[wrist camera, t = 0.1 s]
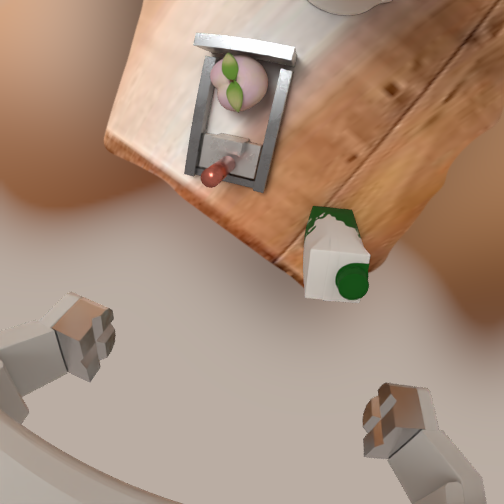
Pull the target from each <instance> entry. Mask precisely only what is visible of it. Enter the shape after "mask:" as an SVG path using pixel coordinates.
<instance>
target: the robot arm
mask: <svg viewBox="0 0 504 504" xmlns="http://www.w3.org/2000/svg"><path fill="white" fill-rule="evenodd" d="M308 1H309V2H310V3H312V4H313V5H314V6H316V7H318V8H319V9H321V10H324V11H326V12H329V13H333V14H337V15H356V14H361V13H364V12H366V11H368V10H370V9H371V8H373V7H374V6H375V5H377V4H379V3H386V2H390V1H392V0H308ZM113 319H114V317H113V311H112V310H111V309H110V308H107V307H105V306H103V305H101V304H98V303H96V302H94V301H91V300H89V299H87V298H84V297H82V296H79V295H77V294H75V293H73V292H70V293H67V294H66V295H64V297H62V298H61V299H60V300H59V302H57V303H56V304H55V305H54V307H52V308H51V309H50V310H49V311H48V312H47V313H46V314H45V315H44V316H43V318H41V319H40V320H39V321H36V320H33V321H30V322H27V323H24V324H21V325H17V326H14V327H11V328H8V329H5V330H2V331H0V504H182V503H179V502H176V501H173V500H170V499H167V498H164V497H161V496H158V495H156V494H153V493H150V492H148V491H145V490H142V489H140V488H137V487H135V486H132V485H130V484H128V483H125V482H123V481H120V480H118V479H116V478H114V477H112V476H110V475H108V474H105V473H103V472H101V471H99V470H97V469H95V468H93V467H91V466H89V465H87V464H85V463H83V462H82V461H80V460H78V459H76V458H74V457H72V456H71V455H69V454H67V453H65V452H63V451H62V450H60V449H58V448H57V447H55V446H53V445H52V444H50V443H48V442H47V441H45V440H44V439H42V438H41V437H39V436H37V435H36V434H34V433H33V432H31V431H30V430H28V429H27V428H26V427H24V426H23V425H21V424H22V423H23V421H24V419H25V418H26V417H27V415H28V413H29V409H28V407H27V405H26V404H25V402H24V400H23V399H22V397H23V396H25V395H27V394H29V393H31V392H32V391H34V390H36V389H38V388H40V387H42V386H44V385H46V384H48V383H50V382H52V381H54V380H56V379H58V378H60V377H61V376H63V375H65V374H67V372H69V373H71V374H73V375H75V376H77V377H79V378H82V379H84V380H86V381H88V382H91V380H92V379H93V377H94V376H95V375H96V373H97V372H98V370H99V369H100V360H102V359H104V358H107V357H108V356H109V354H110V352H111V351H112V348H113V345H114V343H115V336H116V335H115V329H114V327H113V326H112V325H111V322H112V320H113ZM363 428H364V429H365V430H366V432H367V433H368V434H367V435H366V436H365V438H364V439H363V443H364V457H369V458H381V459H388V462H389V464H390V466H391V468H392V469H393V471H394V473H395V475H396V476H397V478H398V480H399V482H400V483H401V485H402V487H403V489H404V491H405V492H406V494H407V496H408V498H409V499H410V501H411V503H412V504H486V497H485V491H484V485H483V480H482V477H481V476H480V474H479V473H478V472H477V471H476V469H475V468H474V467H473V466H472V465H471V463H470V462H469V461H468V460H467V458H466V457H465V456H464V455H463V454H462V452H461V451H460V450H459V449H458V448H457V447H456V445H455V444H454V443H453V442H452V441H451V440H450V438H449V437H448V436H447V435H446V434H445V432H444V431H442V430H439V426H438V421H437V417H436V413H435V409H434V404H433V400H432V397H431V393H430V390H429V389H428V388H423V387H413V386H407V385H399V384H391V383H384V384H383V385H382V386H381V387H380V388H379V389H378V396H376V397H374V398H372V399H371V400H370V401H369V403H368V404H367V405H366V408H365V410H364V413H363Z"/></svg>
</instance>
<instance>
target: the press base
mask: <svg viewBox="0 0 504 504" xmlns="http://www.w3.org/2000/svg"><path fill="white" fill-rule="evenodd" d="M193 45H195V46H197V47H199V48H202V49H204V50H207V51H209V52H211V53H218V54H227V53H228V52H229V53H230V54H231V55H233V56H235V55H246V56H249V57H252V58H254V59H258V60H263V61H268V62H273V63H278V64H283V65H287V66H292V67H295V63H296V59H297V54H296V51H295V47H291V46H286V45H281V44H276V43H271V42H265V41H260V40H254V39H247V38H240V37H233V36H225V35H215V34H205V33H196V36H195V40H194V44H193ZM218 61H220V59H219V58H216V57H209V56H205V60H204V65H203V69H202V74H201V79H200V84H199V89H198V94H197V100H196V105H195V110H194V116H193V122H192V128H191V134H190V140H189V146H188V152H187V159H186V165H185V172H184V174H187V175H191V176H195V175H200V176H201V174H202V172H203V171H204V170H205V169H207V168H205V167H201V166H199V164H200V158H201V152H202V146H203V141H204V135H205V134H206V129H207V123H208V118H209V113H210V107H211V102H212V97H213V92H214V87H215V86H214V85H213V84H212V82H211V78H210V73H211V70H212V68H213V66H214V65H215V64H216V63H217V62H218ZM292 76H293V71H290V70H286V69H281V70H280V74H279V79H278V83H277V87H276V91H275V96H274V100H273V104H272V109H271V113H270V117H269V122H268V126H267V130H266V135H265V139H264V143H263V148H262V152H261V156H260V161H259V165H258V170H257V174H256V179H252V178H248V177H244V176H239V175H235V174H231V173H229V174H228V175H227V176H226V177H225V178H224V179H223V180H222V181H226V182H230V183H234V184H238V185H242V186H246V187H250V188H253V191H257V192H261V193H264V191H265V189H266V184H267V180H268V176H269V172H270V168H271V163H272V159H273V155H274V151H275V147H276V142H277V138H278V134H279V130H280V126H281V122H282V117H283V113H284V109H285V105H286V101H287V96H288V92H289V88H290V84H291V80H292Z"/></svg>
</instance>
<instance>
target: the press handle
mask: <svg viewBox="0 0 504 504" xmlns="http://www.w3.org/2000/svg"><path fill="white" fill-rule="evenodd" d="M261 149H262V145H261V144H257V143H252V142H249V139H247V138H243V137H238V136H233V135H229V134H224V133H220V134H217V135H215V134H210V133H207V134H205V135H204V141H203V146H202V152H201V158H200V164H199V166H201V167H205V168H207V169H205V170H204V171H203V172H202V174H201V181H202V183H203V184H204V185H205V186H206V187H209V188H212V187H215V186H217V185H218V184H219V183H220V182H221V181H222V180H223V179H224V178H225V177H226V176H227V175H228V174H229V173H231V174H235V175H239V176H244V177H248V178H252V179H254V178H255V176H256V171H257V167H258V163H259V158H260V154H261Z"/></svg>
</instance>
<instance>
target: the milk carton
mask: <svg viewBox="0 0 504 504" xmlns="http://www.w3.org/2000/svg"><path fill="white" fill-rule="evenodd" d="M369 260H370V254H369V253H368V252H367V250H366V249H365V248H364V246H363V243H362V240H361V237H360V234H359V231H358V227H357V224H356V221H355V218H354V214H353V211H352V210H348V209H339V208H329V207H319V206H313V208H312V211H311V214H310V217H309V220H308V223H307V226H306V232H305V239H304V254H303V276H304V291H305V298H312V299H323V301H338V302H352V303H359V302H360V299H361V298H362V297H363V296H364V295H365V294H366V293H367V291H368V288H369V283H368V268H369Z"/></svg>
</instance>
